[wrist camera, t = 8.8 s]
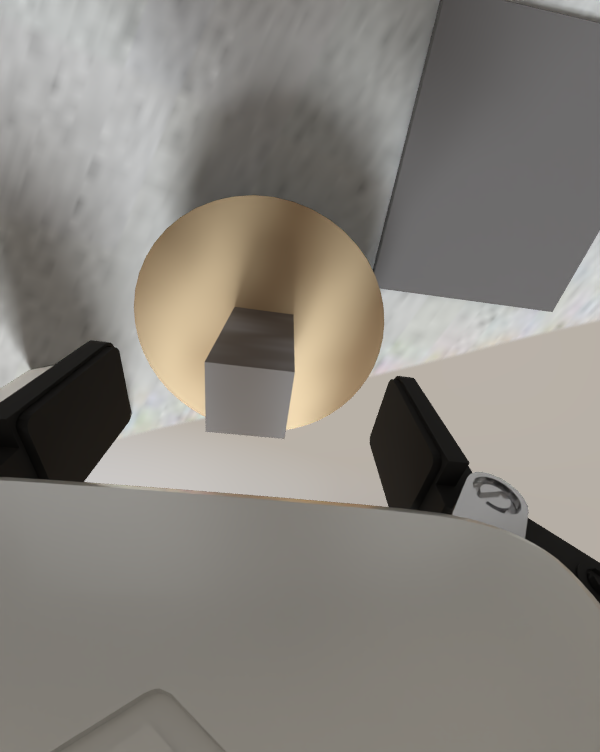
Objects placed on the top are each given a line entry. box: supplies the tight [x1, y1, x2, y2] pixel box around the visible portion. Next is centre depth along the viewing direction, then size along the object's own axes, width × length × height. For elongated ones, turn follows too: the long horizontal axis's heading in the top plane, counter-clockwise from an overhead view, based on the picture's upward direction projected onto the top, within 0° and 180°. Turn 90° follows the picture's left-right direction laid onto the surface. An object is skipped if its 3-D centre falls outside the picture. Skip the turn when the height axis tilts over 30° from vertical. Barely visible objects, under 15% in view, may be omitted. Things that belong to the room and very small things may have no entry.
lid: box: [134, 195, 384, 439], centre depth 14 cm, size 13×13×7 cm
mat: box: [373, 0, 600, 312], centre depth 18 cm, size 14×14×1 cm
